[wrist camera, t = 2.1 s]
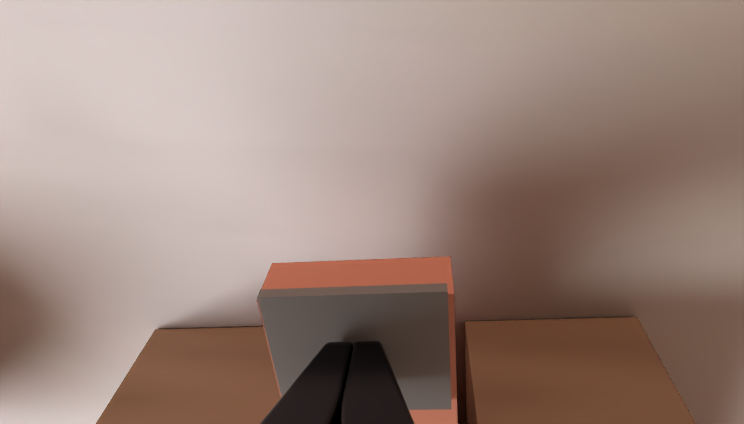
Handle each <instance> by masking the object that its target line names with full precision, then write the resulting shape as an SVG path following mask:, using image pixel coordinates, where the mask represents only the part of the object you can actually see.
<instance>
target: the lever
mask: <svg viewBox="0 0 744 424" xmlns="http://www.w3.org/2000/svg"><path fill="white" fill-rule="evenodd" d="M257 303H258V307H259V311H260V315H261V319H262V323H263V327H264V331H265V336H266V340H267V344H268V348H269V352H270V356H271V360H272V364H273V368H274V372H275V376H276V381H277V385H278V389H279V393H280V397H282V396H283V395H284V393H285V392H286V391H287V390H288V389H289V387H290V386H291V385H292V384H293V382H294V381H295V380H296V379H297V378H298V376H299V375H300V374H301V373H302V372H303V370H304V369H305V368H306V367H307V365H308V364H309V363H310V362H311V361H312V359H313V358H314V357H315V356H316V355H317V353H318V352H319V351H320V350H321V348H322V347H323V346H324V345H325V344H326V343H328V342H348V341H349V342H351V343H353V345H354V344H355V343H356V342H358V341H379V342H380V343H381V344H382V346H383V348H384V351H385V353H386V355H387V358H388V360H389V363H390V365H391V368H392V370H393V373H394V375H395V377H396V380H397V382H398V385H399V387H400V390H401V392H402V395H403V397H404V399H405V402H406V404H407V407H408V409H409V412H410V414H411V416H412V419H413V421H414V424H458V422H457V383H456V344H455V305H454V287H453V277H452V268H451V258H450V256H448V257H422V258H396V259H371V260H345V261H319V262H293V263H272V265H271V267H270V269H269V272H268V274H267V277H266V279H265V282H264V284H263V286H262V289H261V290H260V292H259V295H258V297H257Z"/></svg>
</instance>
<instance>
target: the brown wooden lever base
mask: <svg viewBox="0 0 744 424" xmlns="http://www.w3.org/2000/svg"><path fill="white" fill-rule="evenodd" d="M465 354H466V424H695V422H694V420H693V418H692V416H691V414H690V413H689V411H688V409H687V407H686V405H685V404H684V402H683V400H682V398H681V396H680V395H679V393H678V391H677V389H676V387H675V386H674V384H673V382H672V380H671V378H670V376H669V375H668V373H667V371H666V369H665V367H664V366H663V364H662V362H661V360H660V358H659V357H658V355H657V353H656V351H655V349H654V348H653V346H652V344H651V342H650V340H649V338H648V337H647V335H646V333H645V331H644V329H643V328H642V326H641V324H640V322H639V320H638V319H637V317H619V318H580V319H542V320H503V321H465ZM280 398H281V397H280V393H279V389H278V385H277V381H276V376H275V372H274V368H273V364H272V360H271V356H270V352H269V348H268V344H267V340H266V336H265V331H264V327H234V328H195V329H157V330H155V331H154V332H153V334H152V336H151V337H150V339H149V340H148V342H147V343H146V345H145V347H144V348H143V350H142V351H141V353H140V355H139V356H138V358H137V359H136V361H135V362H134V364H133V366H132V367H131V369H130V370H129V372H128V374H127V375H126V377H125V378H124V380H123V382H122V383H121V385H120V386H119V388H118V389H117V391H116V393H115V394H114V396H113V397H112V399H111V401H110V402H109V404H108V405H107V407H106V409H105V410H104V412H103V413H102V415H101V416H100V418H99V420H98V421H97V423H96V424H260V422H261V421H262V420H263V419H264V418H265V416H266V415H267V414H268V413H269V412H270V410H271V409H272V408H273V407H274V406H275V404H276V403H277V402H278V401H279V399H280Z"/></svg>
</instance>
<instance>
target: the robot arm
mask: <svg viewBox="0 0 744 424" xmlns="http://www.w3.org/2000/svg"><path fill="white" fill-rule="evenodd" d="M260 424H414V421H413V419H412V416H411V414H410V412H409V409H408V407H407V404H406V402H405V399H404V397H403V395H402V392H401V390H400V387H399V385H398V382H397V380H396V377H395V375H394V373H393V370H392V368H391V365H390V363H389V360H388V358H387V355H386V353H385V351H384V348H383V346H382V344H381V343H380V342H379V341H358V342H356V343H355V344H354V345H353V343H351V342H349V341H348V342H328V343H326V344H325V345H324V346H323V347H322V348H321V350H320V351H319V352H318V353H317V355H316V356H315V357H314V358H313V359H312V361H311V362H310V363H309V364H308V365H307V367H306V368H305V369H304V370H303V372H302V373H301V374H300V375H299V376H298V378H297V379H296V380H295V381H294V382H293V384H292V385H291V386H290V387H289V389H288V390H287V391H286V392H285V393H284V395H283V396H282V397H281V398H280V399H279V401H278V402H277V403H276V404H275V406H274V407H273V408H272V409H271V410H270V412H269V413H268V414H267V415H266V416H265V418H264V419H263V420H262V421H261V422H260Z"/></svg>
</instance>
